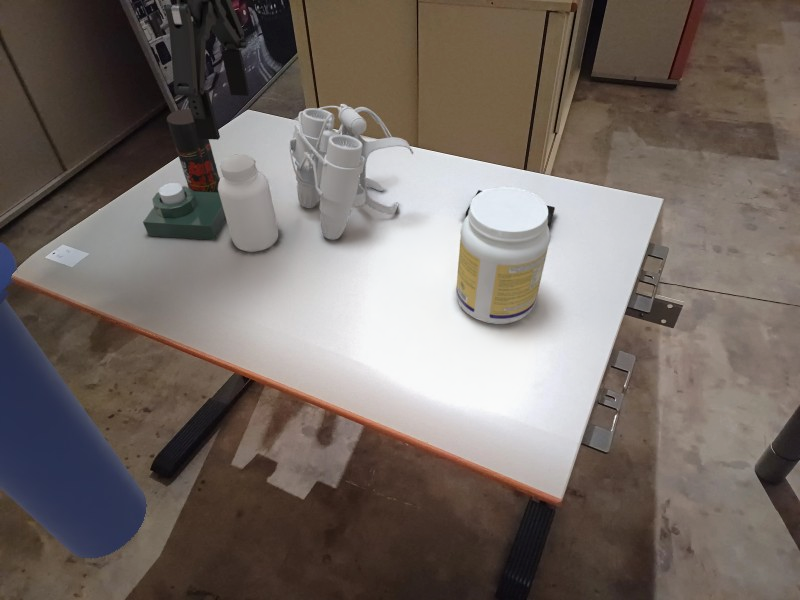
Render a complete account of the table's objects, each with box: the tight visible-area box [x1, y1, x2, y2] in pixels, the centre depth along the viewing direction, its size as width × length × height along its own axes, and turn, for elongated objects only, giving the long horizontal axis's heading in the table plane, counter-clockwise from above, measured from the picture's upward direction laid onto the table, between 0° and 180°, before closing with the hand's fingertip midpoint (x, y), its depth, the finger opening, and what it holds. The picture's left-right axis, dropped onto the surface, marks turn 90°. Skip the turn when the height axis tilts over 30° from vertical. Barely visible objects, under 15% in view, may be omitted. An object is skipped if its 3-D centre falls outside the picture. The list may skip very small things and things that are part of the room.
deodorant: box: [166, 108, 221, 193], centre depth 101 cm, size 6×6×15 cm
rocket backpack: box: [289, 103, 415, 241], centre depth 96 cm, size 18×19×20 cm
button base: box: [142, 185, 227, 241], centre depth 98 cm, size 12×10×5 cm
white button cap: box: [158, 182, 186, 205], centre depth 96 cm, size 4×4×2 cm
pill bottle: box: [218, 153, 279, 253], centre depth 90 cm, size 8×8×15 cm
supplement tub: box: [455, 186, 551, 325], centre depth 79 cm, size 12×12×17 cm
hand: (225, 115), depth 80 cm, fingers open, 13 cm apart
